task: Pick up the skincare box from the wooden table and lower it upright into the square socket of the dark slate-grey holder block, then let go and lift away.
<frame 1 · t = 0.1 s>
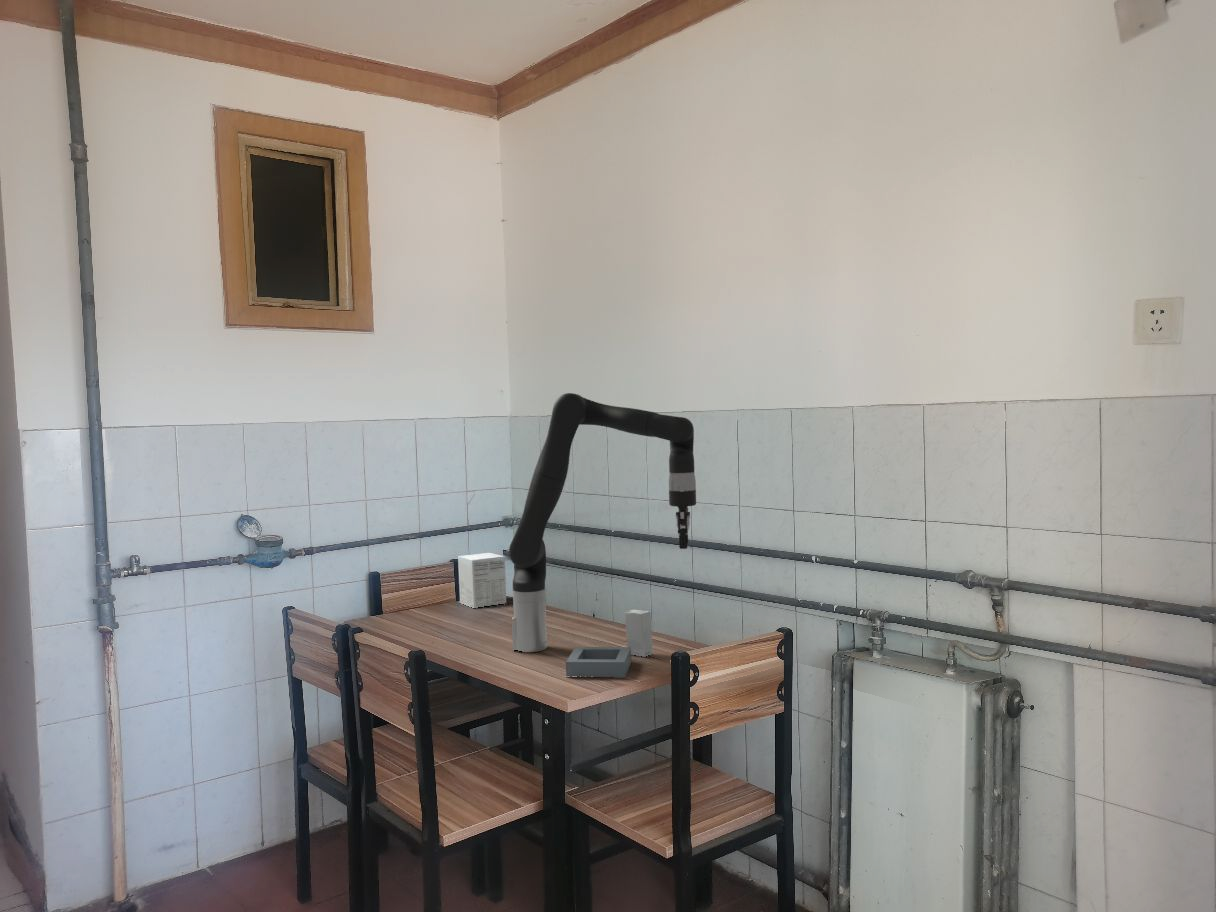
hand: (683, 546, 254), 29 cm above the table, tool pointing down, fingers open, 8 cm apart
supplement box: (483, 604, 328), on the table
skincare box: (639, 655, 250), on the table
socket block: (599, 669, 237), on the table
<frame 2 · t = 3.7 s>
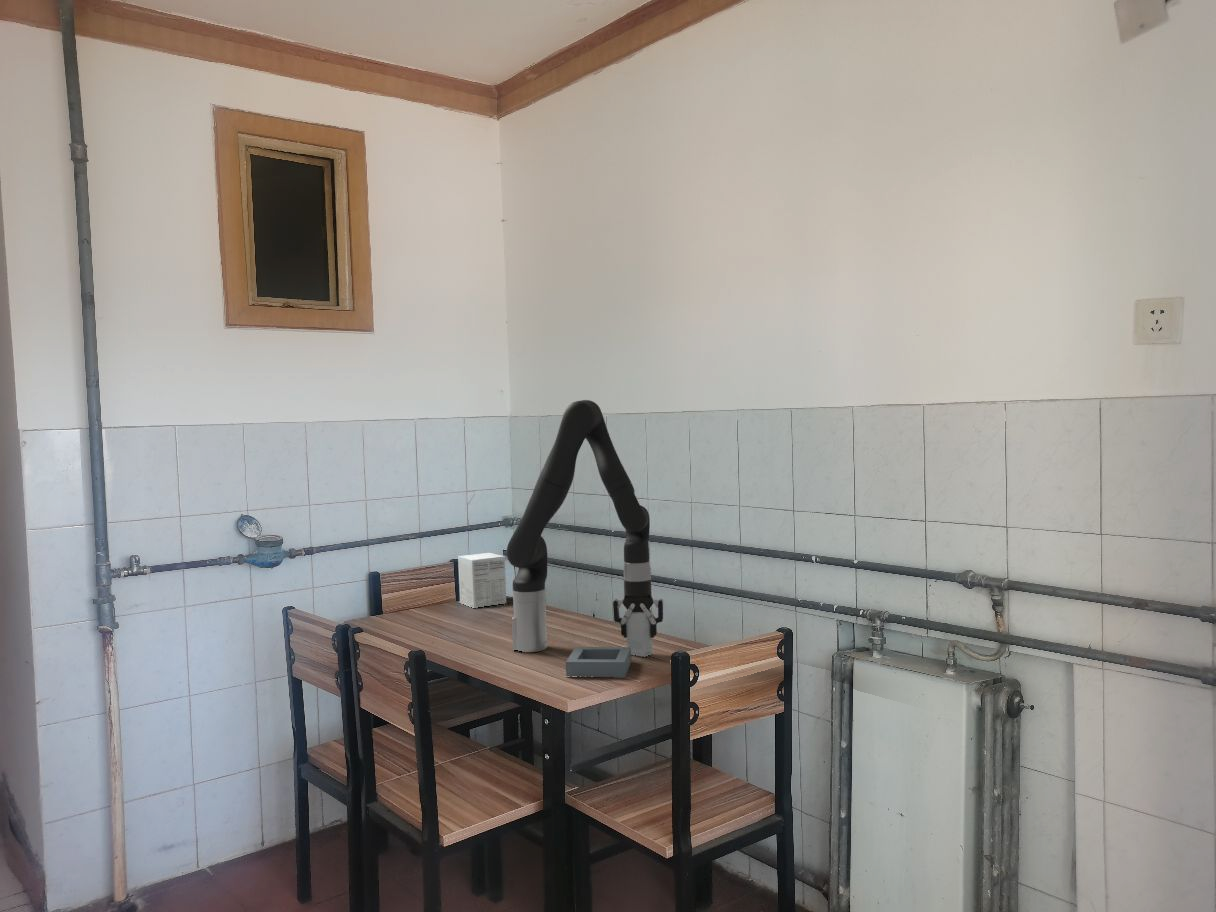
hand: (639, 637, 250), 5 cm above the table, tool pointing down, fingers closed on skincare box, 7 cm apart
skincare box: (639, 655, 250), on the table, touching gripper
everything else where it was.
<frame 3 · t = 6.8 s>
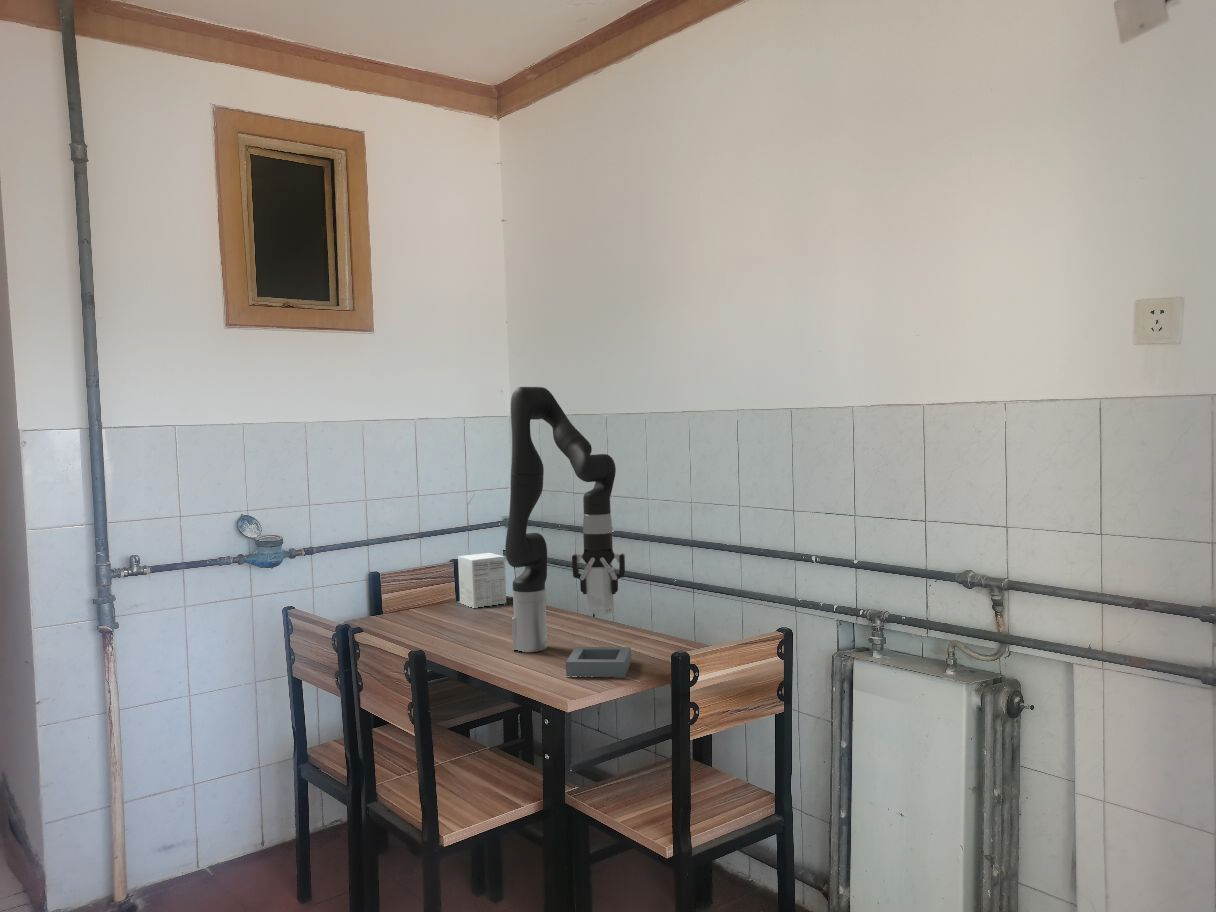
hand: (599, 593, 237), 20 cm above the table, tool pointing down, fingers closed on skincare box, 7 cm apart
skincare box: (600, 613, 237), point 15 cm above the table, touching gripper
everything else where it was.
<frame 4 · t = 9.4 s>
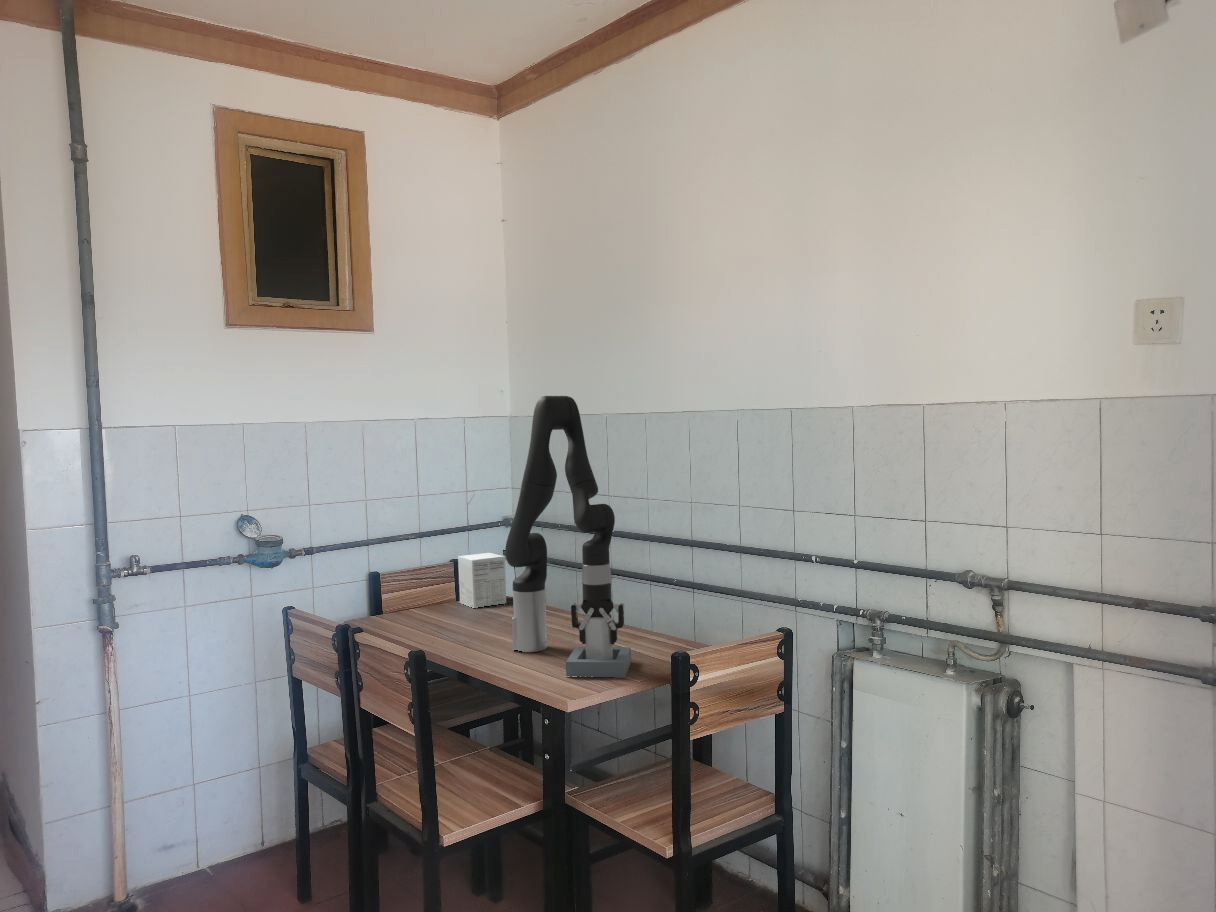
hand: (598, 643, 237), 7 cm above the table, tool pointing down, fingers closed on skincare box, 7 cm apart
skincare box: (599, 662, 237), point 2 cm above the table, touching gripper
everything else where it was.
when the fingers open (7 cm above the table, at t = 10.3 s): skincare box drops 2 cm, resting in socket block.
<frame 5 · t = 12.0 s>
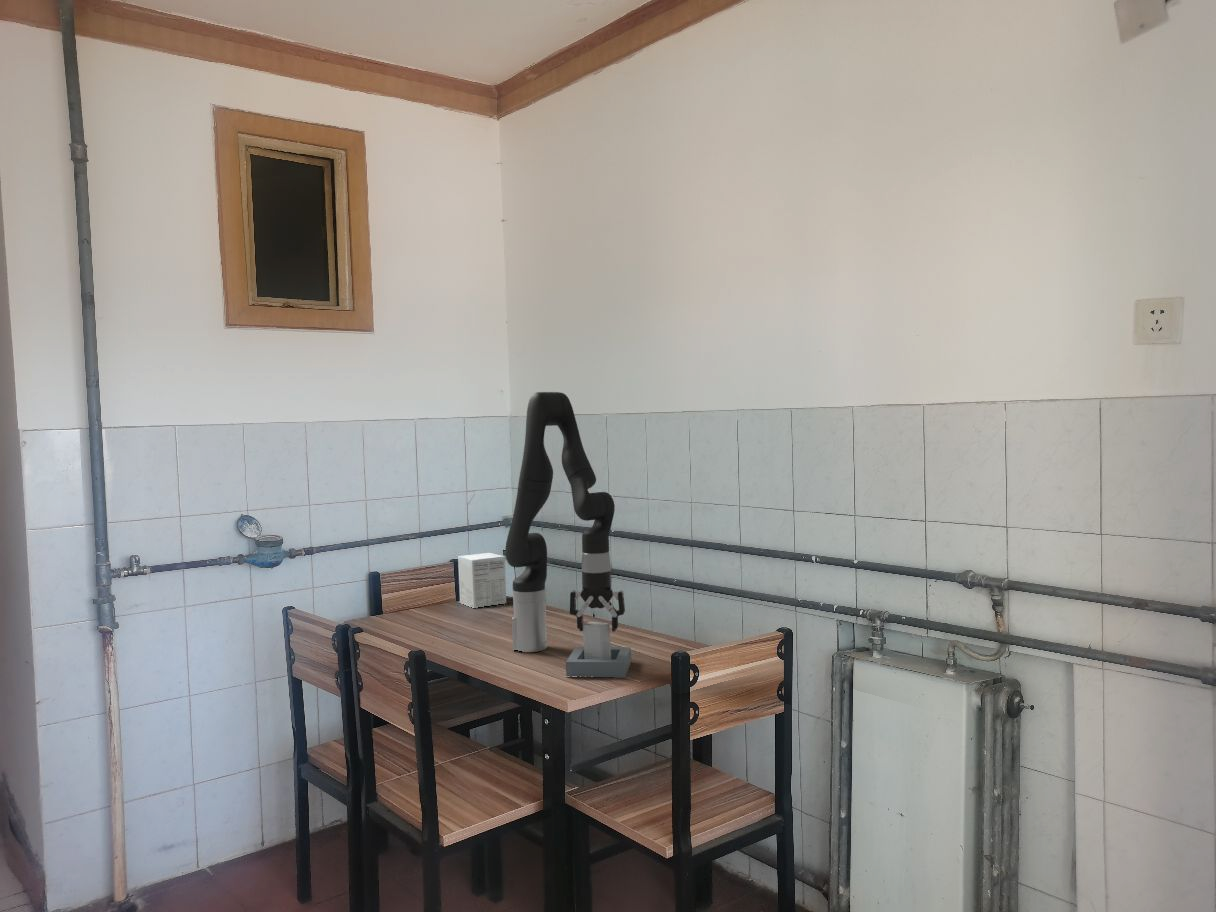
hand: (597, 630, 236), 10 cm above the table, tool pointing down, fingers open, 8 cm apart
skincare box: (597, 670, 237), resting in socket block
everything else where it was.
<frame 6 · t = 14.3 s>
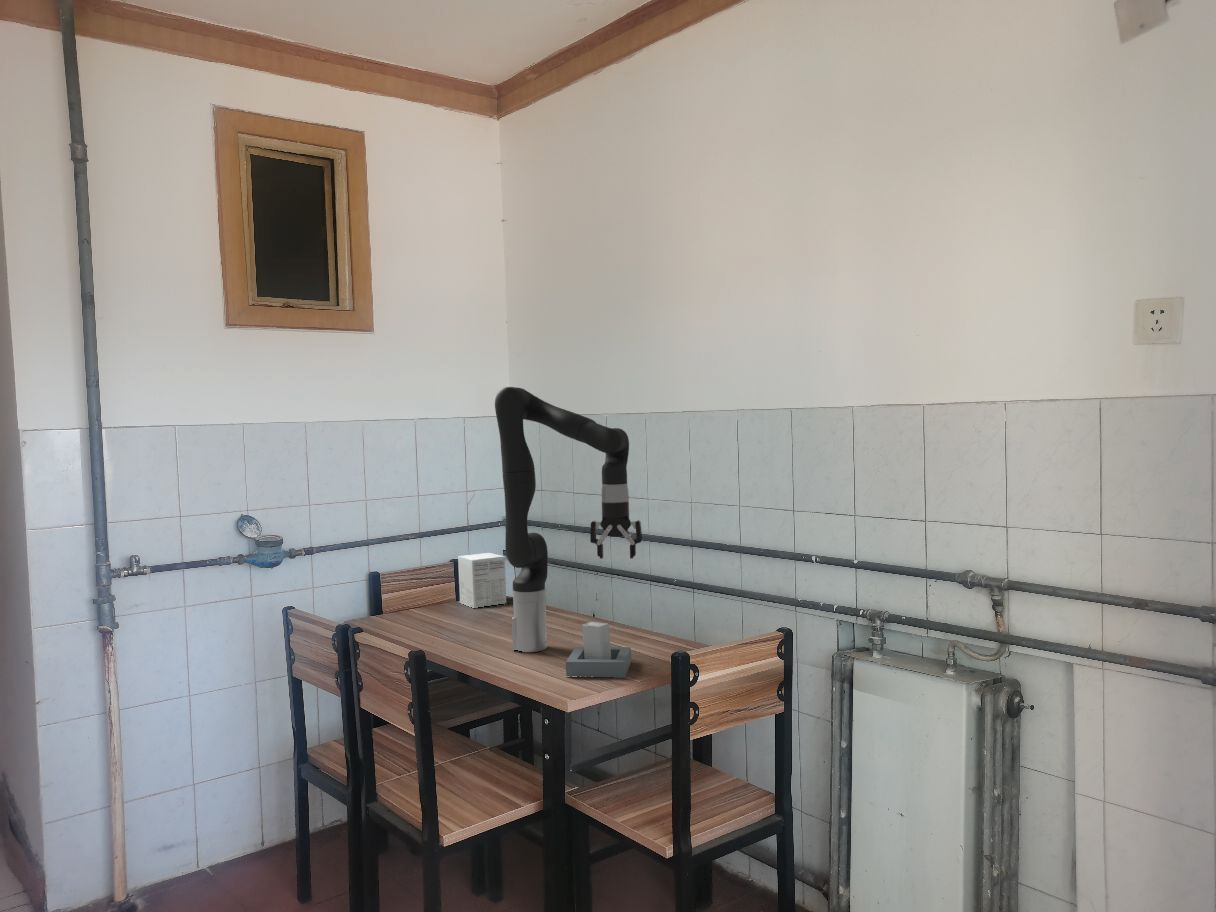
hand: (616, 558, 252), 27 cm above the table, tool pointing down, fingers open, 8 cm apart
nothing on the table moved.
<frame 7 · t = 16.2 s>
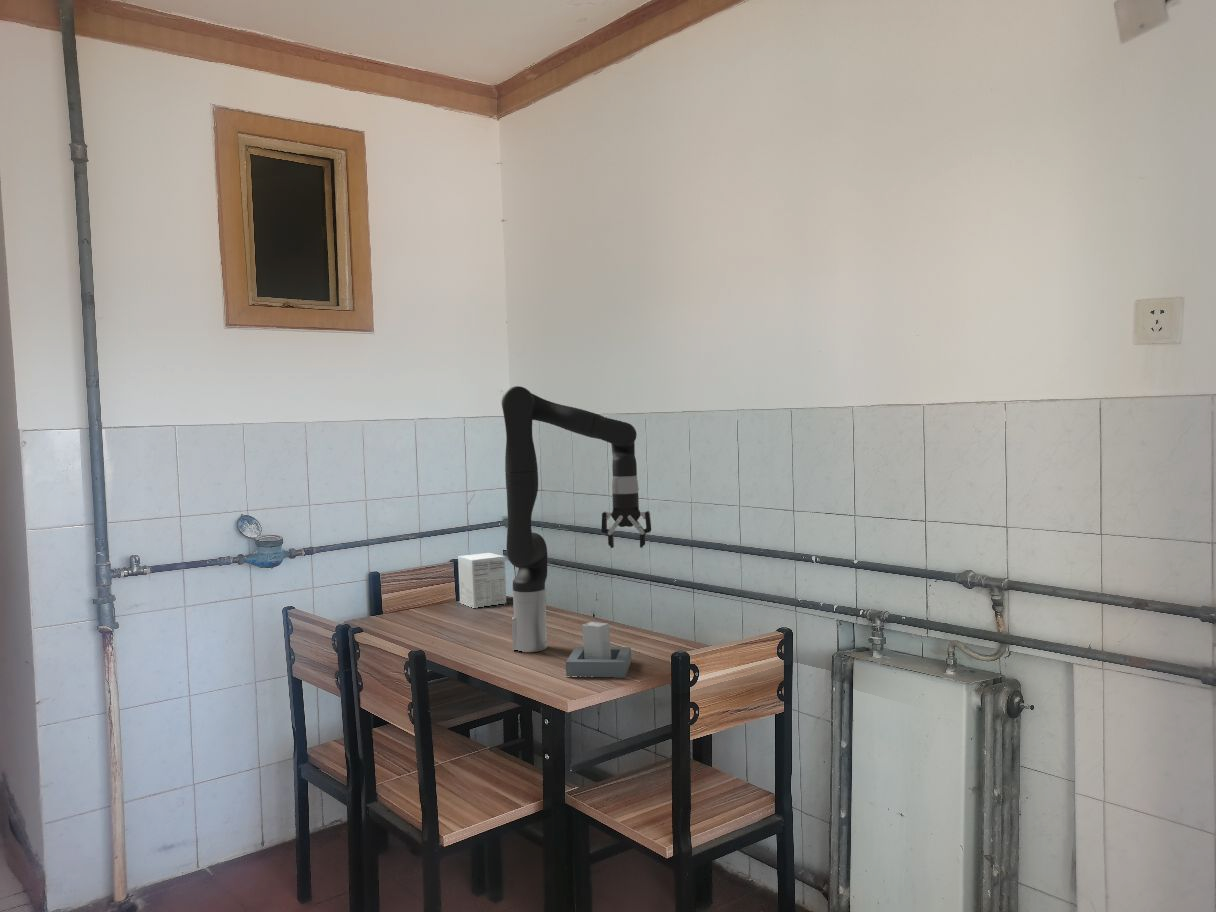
hand: (627, 547, 262), 28 cm above the table, tool pointing down, fingers open, 8 cm apart
nothing on the table moved.
at the end: skincare box 0.5 cm off-centre on the socket block, point 0.0 cm above the socket block's base; skincare box tilted 0°; the gripper is holding nothing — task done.
